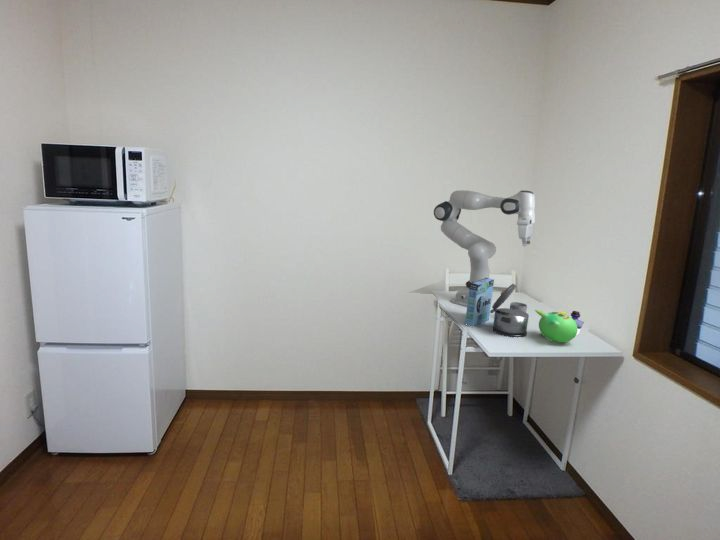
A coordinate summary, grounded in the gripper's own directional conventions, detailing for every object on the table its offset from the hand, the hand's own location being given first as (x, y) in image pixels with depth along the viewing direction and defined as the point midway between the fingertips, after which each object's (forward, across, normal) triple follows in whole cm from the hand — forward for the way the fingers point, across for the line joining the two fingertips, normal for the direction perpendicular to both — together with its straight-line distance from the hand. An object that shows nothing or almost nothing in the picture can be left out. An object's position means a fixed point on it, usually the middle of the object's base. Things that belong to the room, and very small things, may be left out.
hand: (526, 245), depth 246 cm
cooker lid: (+23, +35, -3) cm, 42 cm away
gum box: (+38, +32, -18) cm, 53 cm away
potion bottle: (+44, +16, +26) cm, 53 cm away
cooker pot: (+40, +36, -1) cm, 53 cm away
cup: (+40, +16, -2) cm, 43 cm away
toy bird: (+42, +34, +20) cm, 58 cm away
